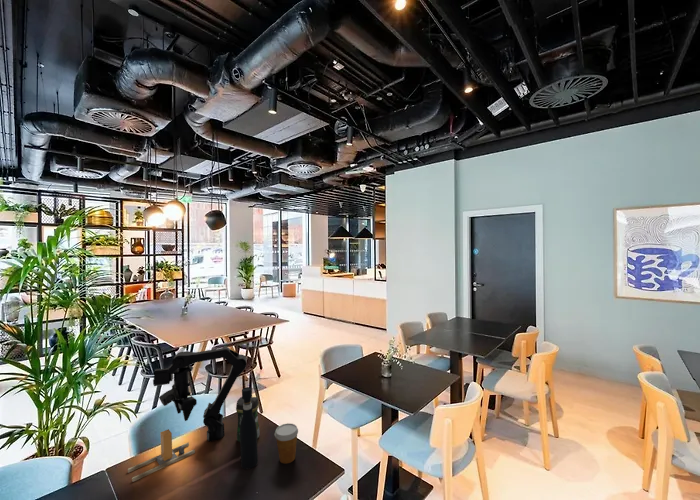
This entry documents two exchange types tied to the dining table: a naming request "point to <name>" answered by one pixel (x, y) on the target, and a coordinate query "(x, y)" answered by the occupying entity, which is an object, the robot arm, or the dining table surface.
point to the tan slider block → (166, 448)
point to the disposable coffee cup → (286, 442)
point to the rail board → (159, 465)
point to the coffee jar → (240, 413)
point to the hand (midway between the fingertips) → (182, 416)
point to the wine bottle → (248, 432)
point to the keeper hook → (181, 450)
